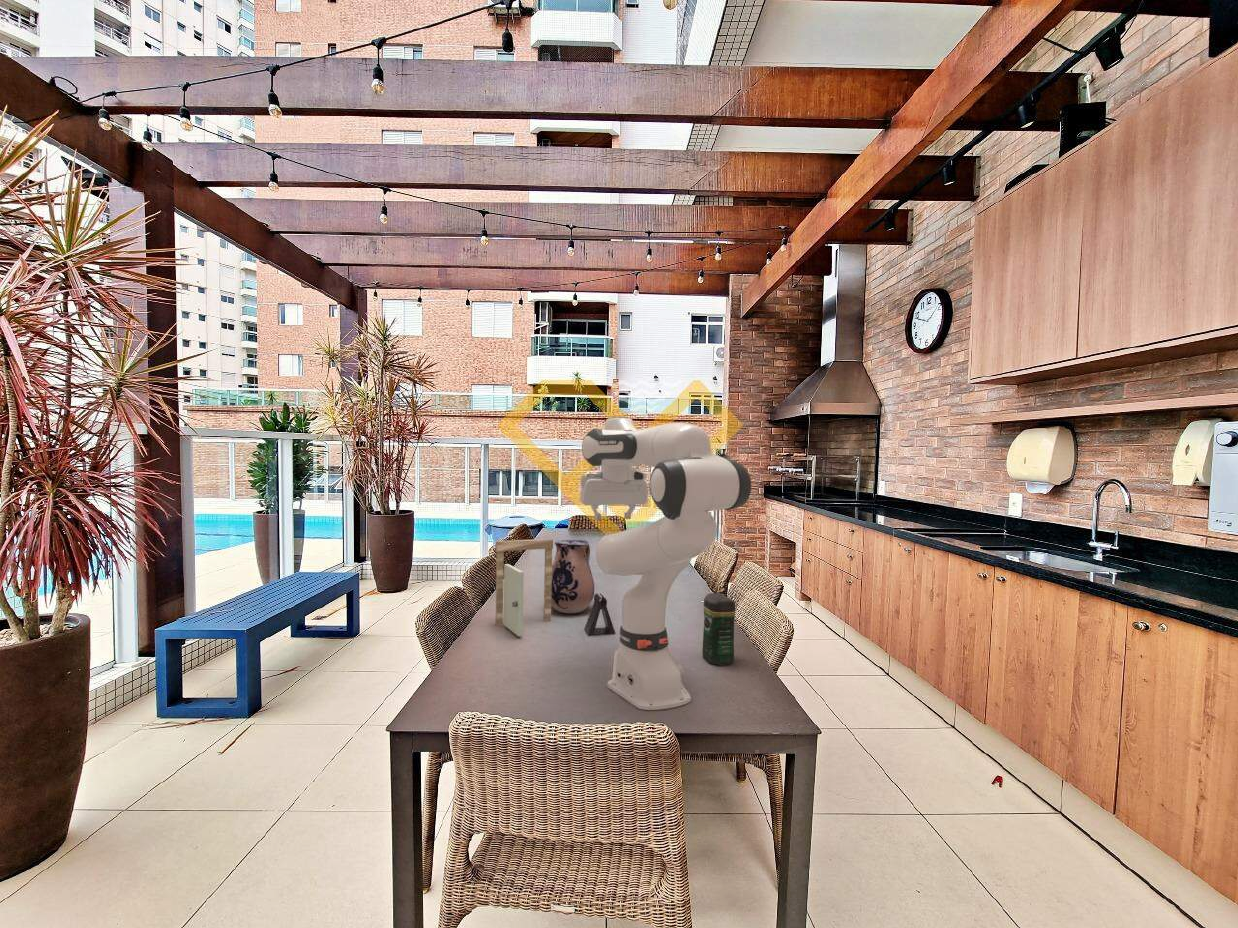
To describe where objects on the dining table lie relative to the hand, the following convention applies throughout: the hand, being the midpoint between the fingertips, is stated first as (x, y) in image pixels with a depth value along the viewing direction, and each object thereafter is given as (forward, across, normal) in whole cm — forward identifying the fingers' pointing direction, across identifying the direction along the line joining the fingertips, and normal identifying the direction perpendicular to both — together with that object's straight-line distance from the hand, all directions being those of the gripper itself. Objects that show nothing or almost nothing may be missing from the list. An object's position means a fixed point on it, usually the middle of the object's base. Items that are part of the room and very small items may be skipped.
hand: (612, 519), depth 164 cm
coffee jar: (+37, +27, -20) cm, 50 cm away
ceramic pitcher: (+44, +2, +40) cm, 59 cm away
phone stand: (+41, +3, +13) cm, 43 cm away
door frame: (+42, -18, +30) cm, 55 cm away
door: (+41, -24, +21) cm, 52 cm away
